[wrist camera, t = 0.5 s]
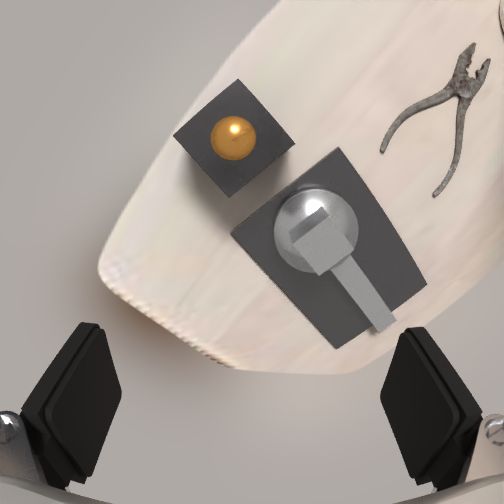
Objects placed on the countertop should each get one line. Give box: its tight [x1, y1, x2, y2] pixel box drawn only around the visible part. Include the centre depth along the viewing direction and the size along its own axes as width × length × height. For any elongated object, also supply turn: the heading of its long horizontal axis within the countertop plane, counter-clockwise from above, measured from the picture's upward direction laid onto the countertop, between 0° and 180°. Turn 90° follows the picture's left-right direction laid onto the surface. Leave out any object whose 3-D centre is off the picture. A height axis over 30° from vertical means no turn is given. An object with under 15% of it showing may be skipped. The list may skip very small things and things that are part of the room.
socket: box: [173, 79, 295, 198], centre depth 27 cm, size 7×7×6 cm
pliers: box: [380, 43, 491, 197], centre depth 28 cm, size 10×1×20 cm
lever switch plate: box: [231, 147, 427, 349], centre depth 32 cm, size 14×20×6 cm
